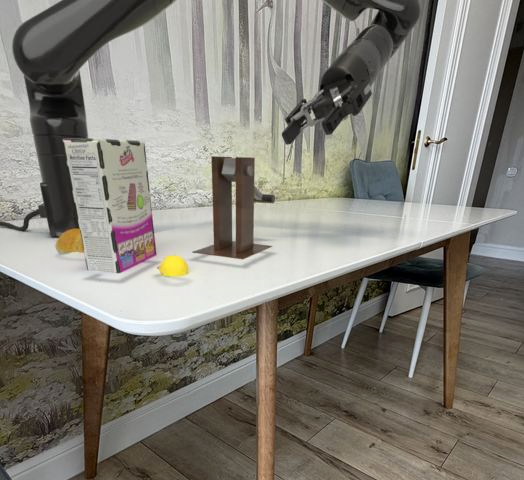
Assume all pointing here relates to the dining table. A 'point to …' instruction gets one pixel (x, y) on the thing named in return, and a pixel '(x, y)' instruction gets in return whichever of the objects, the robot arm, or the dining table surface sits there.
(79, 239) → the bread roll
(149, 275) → the dining table surface
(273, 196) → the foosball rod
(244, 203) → the bracket
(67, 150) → the candy bar box
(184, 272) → the yellow lemon
